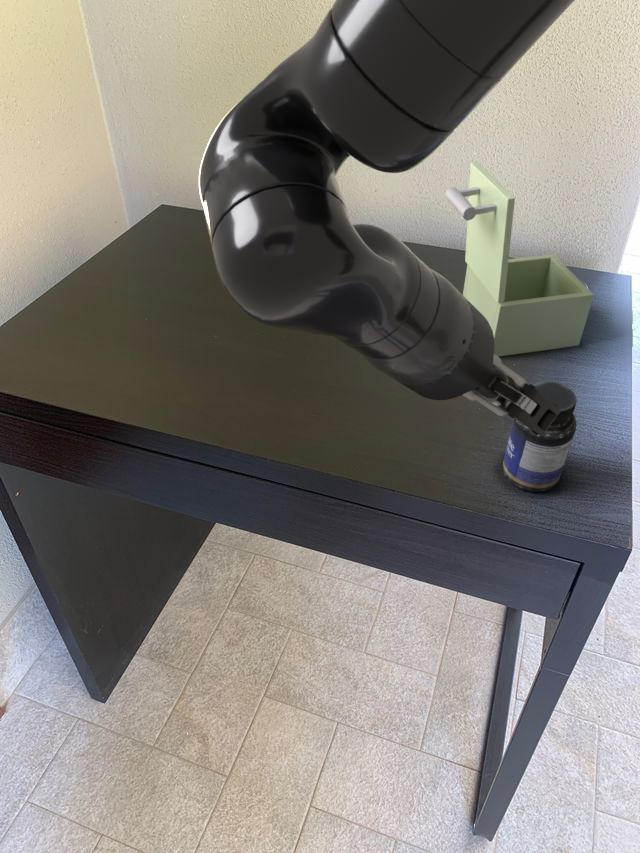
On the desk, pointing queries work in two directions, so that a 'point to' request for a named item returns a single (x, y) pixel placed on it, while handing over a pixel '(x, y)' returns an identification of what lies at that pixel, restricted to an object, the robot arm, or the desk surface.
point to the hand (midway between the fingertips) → (502, 395)
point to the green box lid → (486, 228)
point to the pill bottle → (542, 444)
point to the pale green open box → (533, 306)
